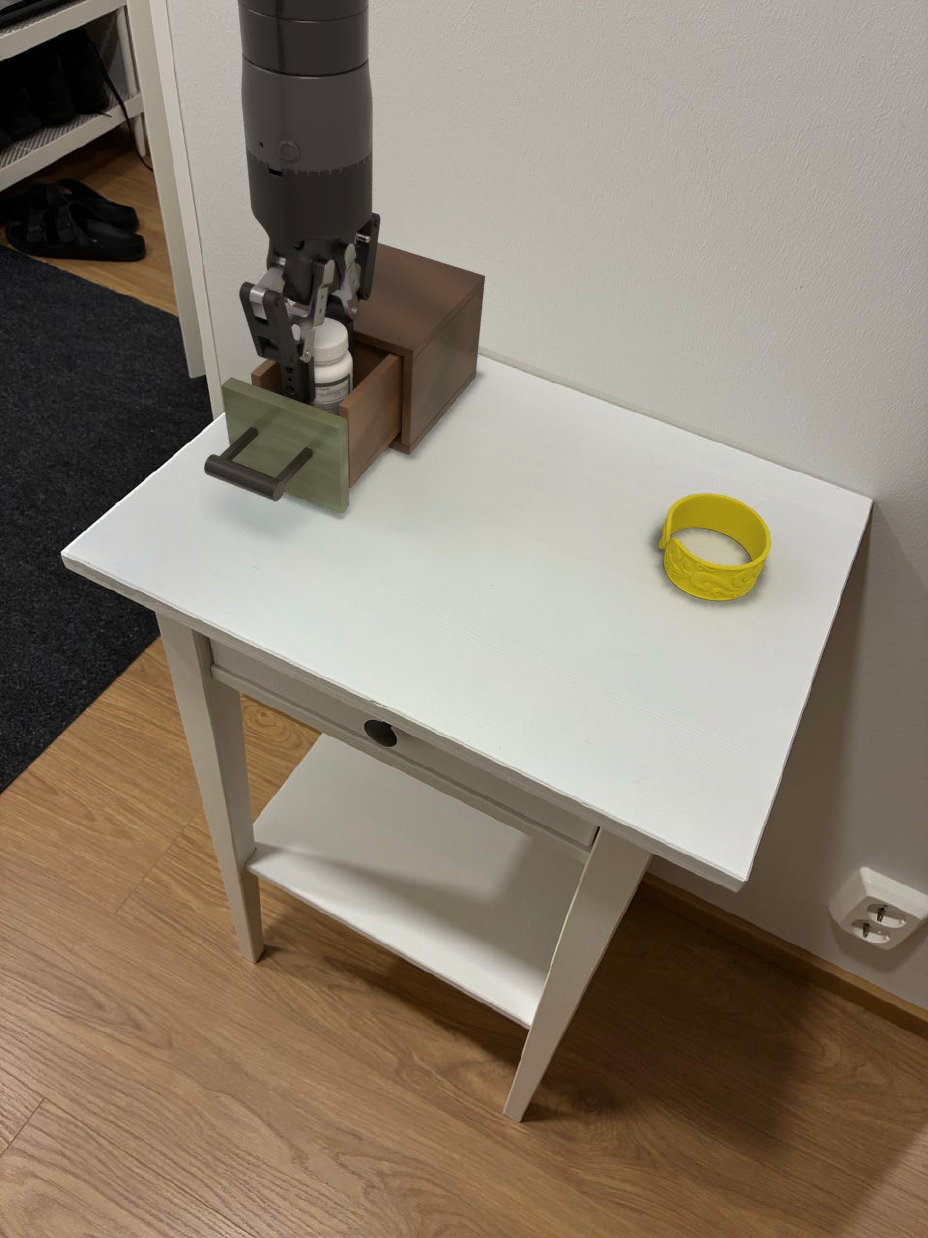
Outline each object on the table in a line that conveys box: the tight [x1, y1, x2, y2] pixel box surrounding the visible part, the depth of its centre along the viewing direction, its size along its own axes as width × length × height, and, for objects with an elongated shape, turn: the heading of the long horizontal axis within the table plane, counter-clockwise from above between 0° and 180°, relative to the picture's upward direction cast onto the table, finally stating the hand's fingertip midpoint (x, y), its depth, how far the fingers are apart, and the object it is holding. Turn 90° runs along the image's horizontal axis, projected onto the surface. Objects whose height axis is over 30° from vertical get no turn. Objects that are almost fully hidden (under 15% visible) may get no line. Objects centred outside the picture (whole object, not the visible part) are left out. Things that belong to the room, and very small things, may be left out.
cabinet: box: [290, 242, 486, 455], centre depth 79 cm, size 13×11×10 cm
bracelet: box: [658, 492, 772, 602], centre depth 70 cm, size 7×8×3 cm
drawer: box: [203, 339, 404, 515], centre depth 71 cm, size 17×9×8 cm, turn 154°
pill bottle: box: [291, 318, 353, 416], centre depth 70 cm, size 5×5×8 cm
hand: (319, 379), depth 70 cm, fingers closed on pill bottle, 4 cm apart
